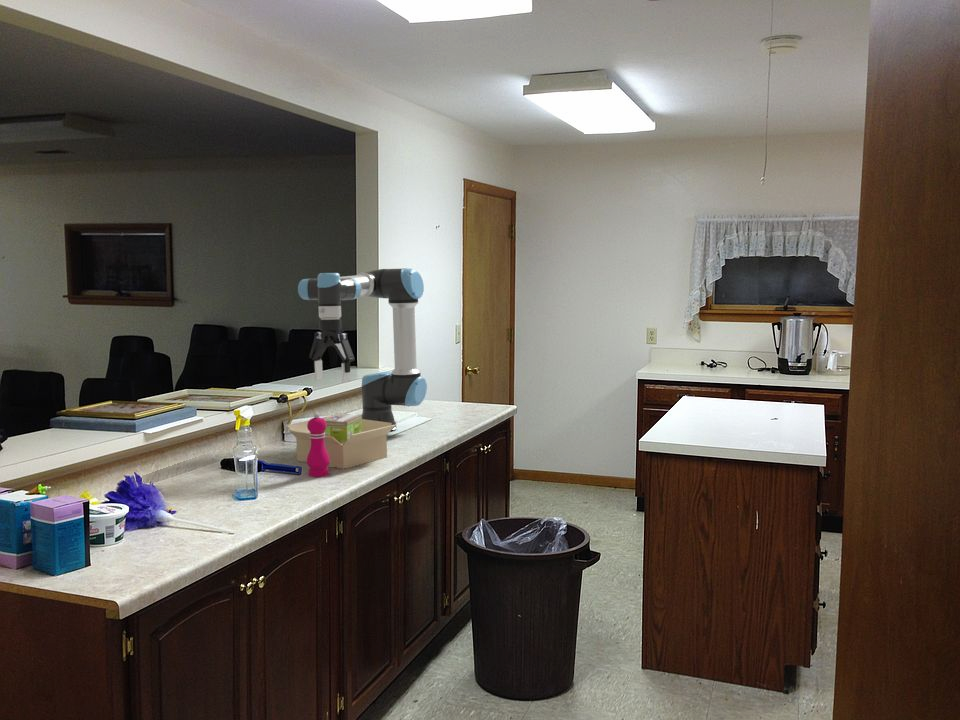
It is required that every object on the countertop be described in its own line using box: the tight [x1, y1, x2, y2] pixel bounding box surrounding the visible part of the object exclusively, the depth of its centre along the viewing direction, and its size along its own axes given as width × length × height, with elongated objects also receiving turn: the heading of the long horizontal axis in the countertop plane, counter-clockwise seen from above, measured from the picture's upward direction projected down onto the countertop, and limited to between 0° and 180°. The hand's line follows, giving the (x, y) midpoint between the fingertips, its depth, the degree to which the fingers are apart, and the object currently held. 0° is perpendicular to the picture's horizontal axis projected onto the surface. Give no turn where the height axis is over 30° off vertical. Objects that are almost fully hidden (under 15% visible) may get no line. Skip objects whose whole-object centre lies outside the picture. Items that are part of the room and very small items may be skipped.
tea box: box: [324, 413, 362, 444], centre depth 288 cm, size 15×10×15 cm
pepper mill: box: [306, 412, 330, 478], centre depth 266 cm, size 7×7×20 cm
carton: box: [286, 415, 397, 470], centre depth 288 cm, size 28×32×12 cm
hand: (332, 380), depth 287 cm, fingers open, 13 cm apart
